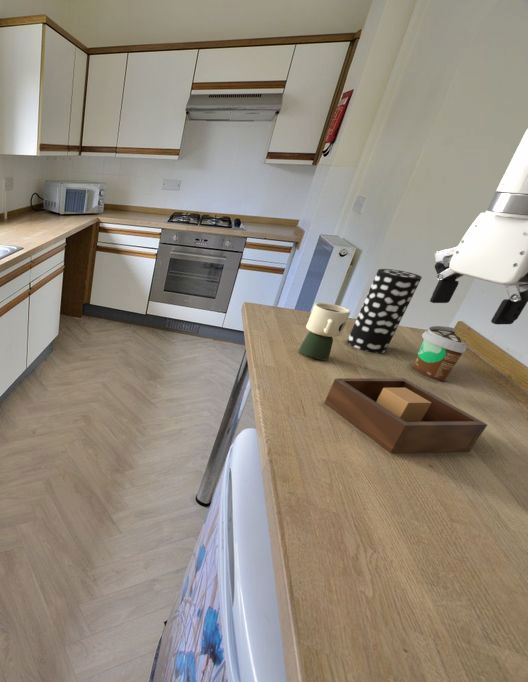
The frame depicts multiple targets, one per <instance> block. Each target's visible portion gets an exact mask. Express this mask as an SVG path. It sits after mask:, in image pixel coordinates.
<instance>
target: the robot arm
mask: <svg viewBox="0 0 528 682" xmlns="http://www.w3.org/2000/svg"><path fill="white" fill-rule="evenodd" d="M434 261H435V265H434V269H435V272H436V274H437V275H436V277H435V278H436V280H437V281H438V282H437V284H436V286H435V288H434V290H433V292H432V295H431V297H430V298H429V299H430V300H429V302H430V303H432V304H449V303H450V301H451V299H452V298H453V296H454V294H455V292H456V290H457V288H458V285H459V282H460V281H458V279H459V278H461V277H463V276H465V277H466V276H467V277H470V278H474V279H476V280H477V279H478V280H482V281H485V282H489V283H493V284H496V285H502V286H505V289H506V293H507V295H508V299H506V298H503V300H502V301H501V303H500V304H499V306H498V308H497V310H496V311H495V312H494V314H493V316H492V318H491V320H490V322H491V324H494V325H512V324H514V322H515V321H516V320H518V319H519V317H520V315H521V314H522V312H523V310H524V309H525V307H526V305H527V303H528V127H527V129H526V130H525V131H524V134H523V136H522V138H521V139H520V142H519V143H518V146H517V148H516V150H515V152H514V154H513V156H512V158H511V159H510V161H509V164H508V166H507V168H506V170H505V171H504V173H503V175H502V178H501V180H500V182H499V184H498V186H497V188H496V189H495V192H494V194H493V196H492V198H491V200H490V201H489V204H488V206H487V208H486V210H485V212H483V211H482V212H480V213H479V215H477V217H476V218H475V219H474V221H473V222H472V223H471V224H470V226H469V228H468V229H467V231H466V232H465V234H464V235H463V236H462V238H461V240H460V242H459V243H458V245H457V246H455V247H451V248H446V249H441V250H437V251H436V252H435V253H434Z"/></svg>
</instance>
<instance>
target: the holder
mask: <svg viewBox="0 0 528 682" xmlns="http://www.w3.org/2000/svg"><path fill="white" fill-rule="evenodd" d="M383 388H407V389H409V390H410V391H412V392H414V393H416V394H417V395H419V396H421V397H423V398H424V399H426V400H428V401H430V402H431V405H430V406H429V408H428V410H427V412H426V413H425V415H424V417H423V418H422V420H421V422H405V421H404V420H402V419H401V418H399V417H398V416H396V415H394V414H393V413H391V412H390V411H388V410H387V409H385V408H384V407H382V406H381V405H379V404H378V403H376V401H377V399H378V398H379V396H380V394H381V392H382V390H383ZM324 404H325V405H326V406H328V407H329V408H330V409H331V410H333V411H334V412H335V413H337V414H338V415H339V416H341V417H342V418H343V419H345V420H346V421H347V422H349V423H350V424H351V425H353V427H355V428H356V429H358V430H359V431H361V433H363V434H365V435H366V436H367V437H368V438H370V439H371V440H372V441H374V442H375V443H376V444H378V445H379V446H380V447H382V448H383V449H384V450H385V451H387V452H388V453H390V454H412V453H413V454H414V453H415V454H416V453H419V454H421V453H470V452H471V450H472V449H473V447H474V446H475V444H476V443H477V441H479V438H480V437H481V435H482V434H483V432H484V431H485V430H486V428H487V427H488V424H487V423H485V422H484V421H482V420H480V419H479V418H476V417H475V416H473V415H471V414H469V413H468V412H465V411H464V410H462V409H460V408H459V407H457V406H456V405H453V404H451V403H449V402H448V401H446V400H444V399H442V398H440V397H438V396H437V395H436V394H433V393H431V392H430V391H428V390H426V389H424V388H423V387H420V386H419V385H417V384H415V383H414V382H411V381H410V380H408V379H406V378H404V377H403V378H402V377H401V378H395V377H393V378H391V377H390V378H387V377H386V378H385V377H384V378H381V377H380V378H375V377H374V378H364V377H363V378H362V377H361V378H360V377H359V378H357V377H355V378H354V377H353V378H351V377H350V378H344V377H343V378H341V377H340V378H339V377H338V378H334V380H333V382H332V384H331V387H330V388H329V391H328V393H327V395H326V398H325V400H324Z"/></svg>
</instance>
